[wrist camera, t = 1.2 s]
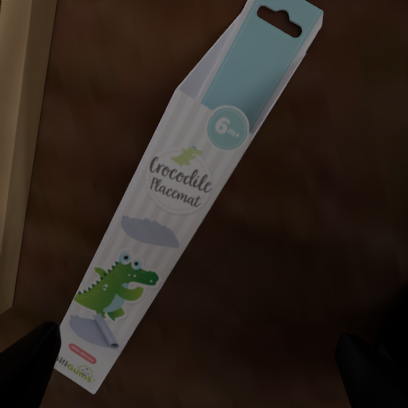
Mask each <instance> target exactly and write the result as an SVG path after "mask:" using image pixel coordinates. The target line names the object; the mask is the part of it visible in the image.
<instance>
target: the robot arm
mask: <svg viewBox="0 0 408 408" xmlns="http://www.w3.org/2000/svg"><path fill="white" fill-rule="evenodd" d="M60 349H61V333H60V325H59V323H58V322H50V321H45V322H43V323H41V324H40V325H38V326H37V327H36V328H34V329H33V330H32V331H30V332H29V333H27V334H26V335H25V336H23V337H22V338H21V339H19V340H18V341H17V342H15V343H14V344H12V345H11V346H10V347H8V348H7V349H6V350H4V351H3V352H2V353H0V408H39V406H40V404H41V401H42V399H43V396H44V394H45V391H46V388H47V385H48V383H49V380H50V377H51V374H52V371H53V369H54V366H55V363H56V360H57V358H58V355H59V352H60ZM335 360H336V363H337V366H338V369H339V372H340V375H341V378H342V381H343V384H344V387H345V390H346V393H347V396H348V399H349V402H350V404H351V407H352V408H408V297H407V299H406V300H405V302H404V303H403V305H402V306H401V308H400V309H398V310H397V312H396V313H395V315H394V316H393V318H392V319H391V321H390V322H389V324H388V325H387V327H386V328H385V330H384V331H383V333H382V334H381V336H380V339H379V340H378V342H377V343H376V345H375V346H374V348H373V347H372V346H370V345H369V344H368V343H366V342H365V341H364V340H363V339H361V338H360V337H359V336H357V335H356V334H348V333H343V334H342V335H341V336H340V338H339V341H338V344H337V347H336V350H335Z"/></svg>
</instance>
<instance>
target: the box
mask: <svg viewBox="0 0 408 408" xmlns="http://www.w3.org/2000/svg"><path fill="white" fill-rule="evenodd" d="M261 6H266V7H267V8H269V9H271V10H272V11H274V12H277V11H280V10H284V11H286V12H287V13H288V14H289V19H290V21H291V22H293V23H295V24H296V25H298V26H300V27H301V29H302V34H301V36H300V37H298V38H293V37H291V36H289V35H288V34H286V33H284V32H283V31H281V30H279V29H277V28H276V27H274V26H272V25H271V24H269V23H267V22H266V21H264V20H262V19H260V18H259V17H258V16H257V10H258V8H259V7H261ZM322 19H323V11H322V10H320V9H319V8H317V7H315V6H313V5H312V4H310V3H308V2H307V1H305V0H248V1H247V3H246V5H245V7H244V8H243V10H242V12H241V14H240V15H239V16H238V17H237V18H236V19H235V20H234V22H233V23H232V24H231V25H230V26H229V28H228V29H227V30H226V31H225V32H224V33H223V35H222V36H221V37H220V38H219V39H218V40H217V42H216V43H215V44H214V45H213V46H212V48H211V49H210V50H209V51H208V52H207V53H206V55H205V56H204V57H203V58H202V59H201V60H200V62H199V63H198V64H197V65H196V66H195V67H194V69H193V70H192V71H191V72H190V73H189V75H188V76H187V77H186V78H185V79H184V80H183V82H182V83H181V84H180V85H179V86H178V87H177V88H176V90H175V92H174V94H173V96H172V98H171V100H170V102H169V104H168V106H167V108H166V111H165V113H164V115H163V117H162V119H161V121H160V123H159V125H158V127H157V129H156V131H155V133H154V135H153V137H152V139H151V141H150V143H149V145H148V147H147V149H146V151H145V154H144V156H143V158H142V160H141V162H140V164H139V166H138V168H137V170H136V172H135V174H134V176H133V178H132V180H131V182H130V184H129V186H128V188H127V190H126V192H125V194H124V196H123V199H122V201H121V203H120V205H119V207H118V209H117V211H116V213H115V215H114V217H113V219H112V221H111V223H110V225H109V227H108V229H107V231H106V233H105V235H104V237H103V239H102V242H101V244H100V246H99V248H98V250H97V252H96V254H95V256H94V258H93V260H92V262H91V264H90V266H89V268H88V270H87V272H86V274H85V276H84V278H83V280H82V282H81V284H80V287H79V289H78V291H77V293H76V295H75V297H74V299H73V301H72V303H71V305H70V307H69V309H68V311H67V313H66V315H65V317H64V319H63V321H62V323H61V325H60V333H61V349H60V352H59V355H58V358H57V360H56V363H55V366H54V368H55V369H56V370H58V371H59V372H61V373H62V374H64V375H65V376H67V377H68V378H70V379H71V380H73V381H74V382H76V383H77V384H79V385H80V386H82V387H83V388H85V389H86V390H88V391H89V392H91V393H92V394H95V393H96V391H97V390H98V388H99V387H100V385H101V383H102V382H103V380H104V379H105V377H106V376H107V374H108V372H109V371H110V369H111V368H112V366H113V364H114V363H115V361H116V360H117V358H118V357H119V355H120V353H121V352H122V350H123V349H124V347H125V345H126V344H127V342H128V341H129V339H130V337H131V336H132V334H133V333H134V331H135V329H136V328H137V326H138V324H139V323H140V321H141V320H142V318H143V316H144V315H145V313H146V311H147V310H148V308H149V307H150V305H151V303H152V302H153V300H154V299H155V297H156V295H157V294H158V292H159V290H160V289H161V287H162V286H163V284H164V282H165V281H166V279H167V278H168V276H169V274H170V273H171V271H172V269H173V268H174V266H175V265H176V263H177V261H178V260H179V258H180V256H181V255H182V253H183V252H184V250H185V248H186V247H187V245H188V244H189V242H190V240H191V239H192V237H193V235H194V234H195V232H196V231H197V229H198V227H199V226H200V224H201V222H202V221H203V219H204V218H205V216H206V214H207V213H208V211H209V210H210V208H211V206H212V205H213V203H214V201H215V200H216V198H217V197H218V195H219V193H220V192H221V190H222V188H223V187H224V185H225V184H226V182H227V180H228V179H229V177H230V176H231V174H232V172H233V171H234V169H235V167H236V166H237V164H238V163H239V161H240V159H241V158H242V156H243V155H244V153H245V151H246V150H247V148H248V146H249V145H250V143H251V142H252V140H253V138H254V137H255V135H256V133H257V132H258V130H259V129H260V127H261V125H262V124H263V122H264V121H265V119H266V117H267V116H268V114H269V112H270V111H271V109H272V108H273V106H274V104H275V103H276V101H277V99H278V98H279V96H280V95H281V93H282V91H283V90H284V88H285V87H286V85H287V83H288V82H289V80H290V78H291V77H292V75H293V74H294V72H295V70H296V69H297V67H298V65H299V64H300V62H301V61H302V59H303V57H304V56H305V54H306V53H305V52H306V51H307V49H308V47H309V46H310V44H311V42H312V41H313V39H314V38H315V36H316V34H317V33H318V31H319V30H320V28H321V26H322ZM303 55H304V56H303Z"/></svg>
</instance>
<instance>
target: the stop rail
mask: <svg viewBox="0 0 408 408" xmlns="http://www.w3.org/2000/svg"><path fill="white" fill-rule="evenodd" d="M56 5H57V0H2V2H1V13H0V314H2V313H3V312H5V311H6V310H7V309H9V308H10V307H12V304H13V298H14V291H15V284H16V277H17V270H18V264H19V257H20V250H21V243H22V236H23V230H24V223H25V216H26V209H27V202H28V196H29V189H30V182H31V175H32V168H33V161H34V155H35V148H36V141H37V134H38V127H39V121H40V114H41V107H42V100H43V93H44V87H45V80H46V73H47V66H48V59H49V53H50V46H51V39H52V32H53V25H54V19H55V12H56Z"/></svg>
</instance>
